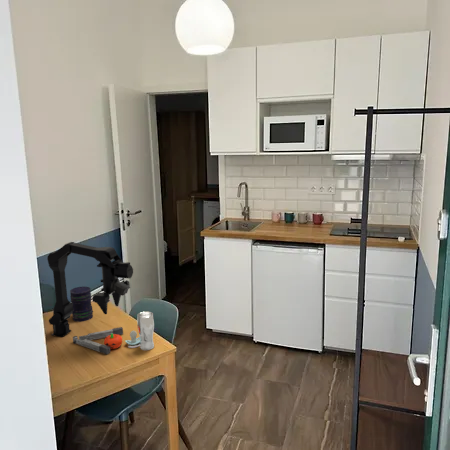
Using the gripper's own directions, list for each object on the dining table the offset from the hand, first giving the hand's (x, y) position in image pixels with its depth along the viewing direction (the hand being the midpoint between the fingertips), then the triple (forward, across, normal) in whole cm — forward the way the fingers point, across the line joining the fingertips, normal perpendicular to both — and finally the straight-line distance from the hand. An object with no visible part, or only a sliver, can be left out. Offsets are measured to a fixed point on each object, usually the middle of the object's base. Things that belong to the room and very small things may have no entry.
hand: (111, 310), depth 183 cm
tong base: (+14, -10, +5) cm, 18 cm away
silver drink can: (+14, -3, -18) cm, 23 cm away
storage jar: (+14, +17, +28) cm, 36 cm away
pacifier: (+14, -2, -12) cm, 19 cm away
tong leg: (+14, 0, +6) cm, 15 cm away
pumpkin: (+14, -6, -4) cm, 16 cm away
